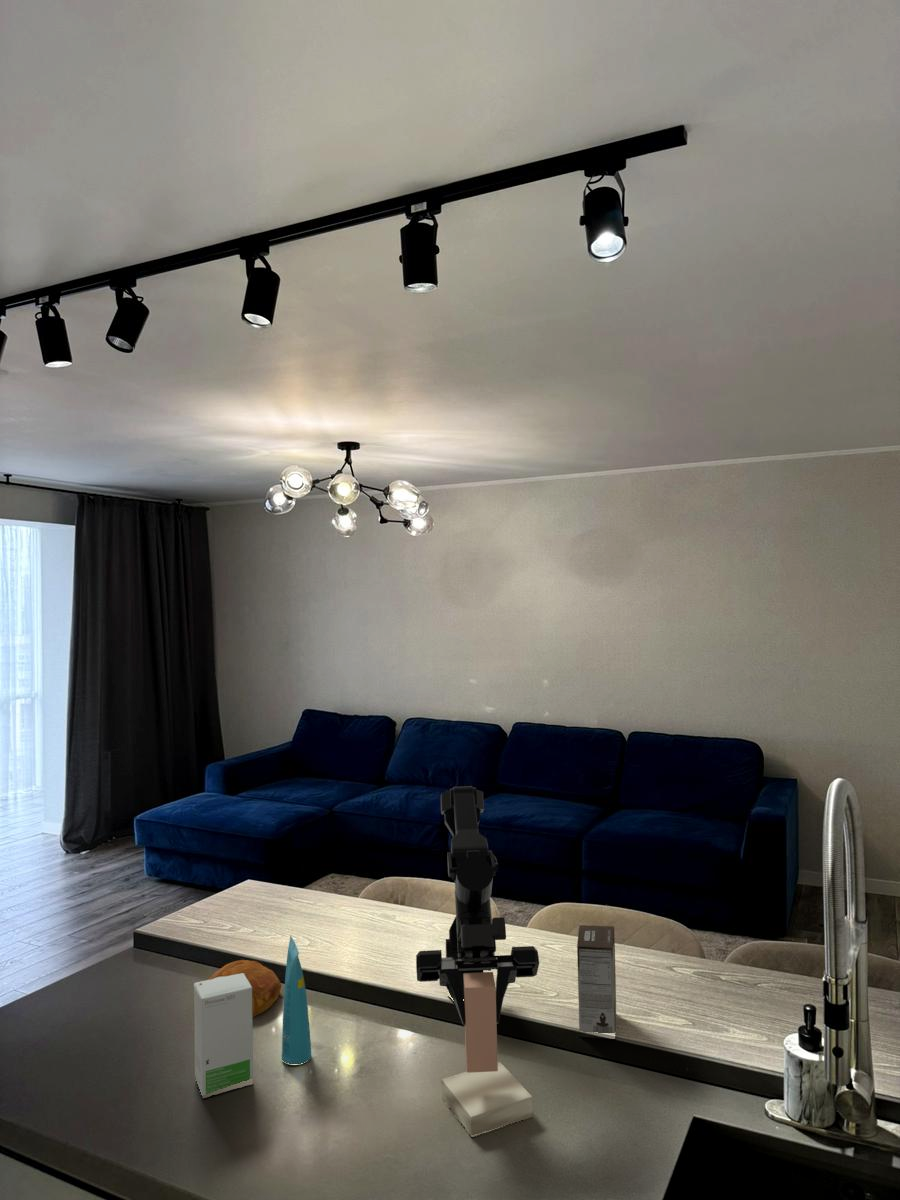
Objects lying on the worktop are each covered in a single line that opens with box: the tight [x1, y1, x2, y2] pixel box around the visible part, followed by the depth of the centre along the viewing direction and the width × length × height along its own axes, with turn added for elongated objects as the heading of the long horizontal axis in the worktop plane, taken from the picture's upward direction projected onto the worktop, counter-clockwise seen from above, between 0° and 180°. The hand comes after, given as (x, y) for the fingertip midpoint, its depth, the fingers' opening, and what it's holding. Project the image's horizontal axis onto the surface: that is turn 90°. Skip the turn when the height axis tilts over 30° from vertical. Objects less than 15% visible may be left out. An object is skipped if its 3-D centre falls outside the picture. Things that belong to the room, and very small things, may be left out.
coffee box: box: [576, 924, 617, 1033], centre depth 142 cm, size 9×6×16 cm
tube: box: [281, 934, 312, 1064], centre depth 134 cm, size 7×5×19 cm, turn 26°
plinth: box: [441, 1061, 533, 1135], centre depth 120 cm, size 10×10×3 cm
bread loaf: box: [206, 959, 282, 1018], centre depth 154 cm, size 14×16×8 cm
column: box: [463, 971, 499, 1073], centre depth 120 cm, size 4×4×12 cm
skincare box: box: [193, 973, 254, 1096], centre depth 129 cm, size 8×7×16 cm
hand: (480, 1023), depth 119 cm, fingers closed on column, 4 cm apart
